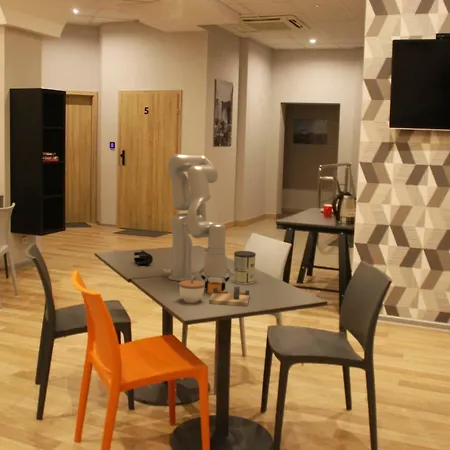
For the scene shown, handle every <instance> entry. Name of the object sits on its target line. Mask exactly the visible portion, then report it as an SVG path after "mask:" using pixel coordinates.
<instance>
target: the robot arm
mask: <svg viewBox="0 0 450 450" xmlns="http://www.w3.org/2000/svg"><path fill="white" fill-rule="evenodd" d="M167 171H168V175H169V177H170V184H171V195H172V196H171V197H172V205H173V208H174V209H175V210H176V211H183V213H177V214H175V215H173V216H172V218H171V219H170V225H171V226H170V228H171V232H172V235H171V236H172V246H171V247H172V249H171V250H172V251H171V252H172V253H171V254H172V255H171V268H169V269H167V268H163V270H162V274H166V275H167V274H169V275H168V276H167V277H168V279H169V280H171V281H176V282H181V281H186V280H191V279H193V280H195V275H194V274H192V267H193V240H192V238H194V239H202V238H205V239H206V238H208V241H207V247H204V252H207V253H206V254H205V258H204V265H203V267H202V268H201V269H200V270H199V271H198V272H197V274H198V275H199V276H200V278H201V279H202V280H203V282H204V283H205V286H204V289H205V291H206V292H207V290H208V282H210V281H209V278H221V280H222V282H221V283H222V291H226V284H227V282H228V281H229V280H230V279H231V278H233V277H234V273H232V271H231V270H230V269H229V268H228V258H227V254H226V236H227V235H226V231H227V230H226V225H225V224H224V223H220V222H218V221H216V220H207V209H206V207H207V206H206V202H207V203H208V201H210V200H211V197H212V196H211V191H210V187H209V186H210V185H209V184H214V183H215V182H217V180H218V178H219V177H218V176H219V173H218V170H217V167H216V166H215V165H214V164H213V163H212V162H211V161H210V160H209V158H207V156H205V155H204V154H201V153H175V154H173V155H171V157H170V158H169V160H168V163H167ZM185 172H187V175H186V173H185ZM184 211H187V212H186V213H184ZM190 236H191V237H192V238H191V237H190ZM227 275H228V276H227ZM226 276H227V277H226Z"/></svg>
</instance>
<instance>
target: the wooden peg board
mask: <svg viewBox="0 0 450 450" xmlns="http://www.w3.org/2000/svg"><path fill="white" fill-rule="evenodd" d="M217 289H218V288H214V289H213V294H211V296H210V297H209V299H208V302H209V303H208V304H212V305H223V306H224V305H225V306H238V307H239V306H242V307H248V305H249V301H250V298H251V297H250V296H251V294H250V290H249V289H246V290H245V291H244V292H242V291H240V289H241V288H240V286H233V292H229V291H228V290H227V291H226V290H224V291H217Z"/></svg>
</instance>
